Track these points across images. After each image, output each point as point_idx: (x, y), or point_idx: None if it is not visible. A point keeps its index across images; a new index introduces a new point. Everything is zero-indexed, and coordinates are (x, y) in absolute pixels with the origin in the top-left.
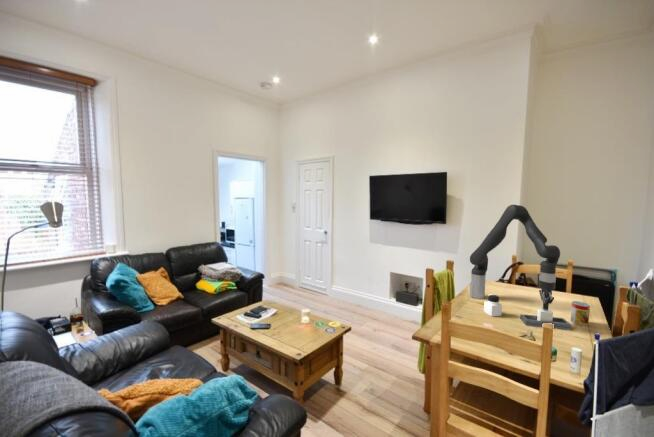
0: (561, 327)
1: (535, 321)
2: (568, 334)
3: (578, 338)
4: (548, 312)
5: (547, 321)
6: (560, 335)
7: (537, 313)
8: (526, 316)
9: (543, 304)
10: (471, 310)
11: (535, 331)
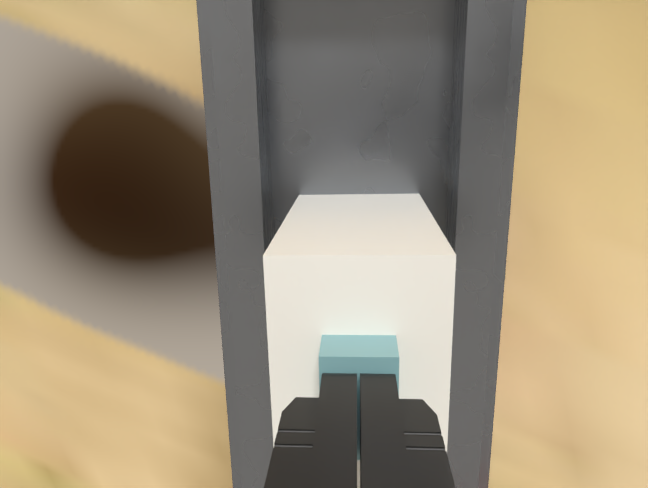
0: (230, 430)
1: (220, 98)
2: (95, 425)
3: (21, 477)
4: (272, 411)
5: (254, 301)
6: (22, 319)
7: (434, 223)
8: (461, 18)
9: (369, 448)
10: None
11: (16, 19)
